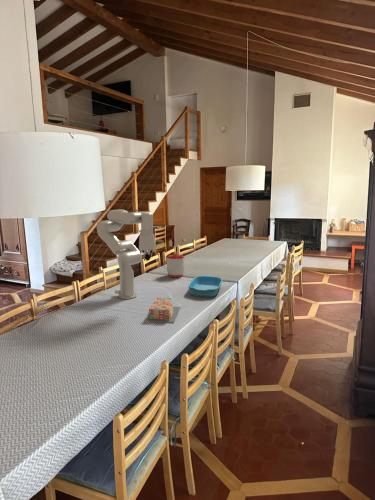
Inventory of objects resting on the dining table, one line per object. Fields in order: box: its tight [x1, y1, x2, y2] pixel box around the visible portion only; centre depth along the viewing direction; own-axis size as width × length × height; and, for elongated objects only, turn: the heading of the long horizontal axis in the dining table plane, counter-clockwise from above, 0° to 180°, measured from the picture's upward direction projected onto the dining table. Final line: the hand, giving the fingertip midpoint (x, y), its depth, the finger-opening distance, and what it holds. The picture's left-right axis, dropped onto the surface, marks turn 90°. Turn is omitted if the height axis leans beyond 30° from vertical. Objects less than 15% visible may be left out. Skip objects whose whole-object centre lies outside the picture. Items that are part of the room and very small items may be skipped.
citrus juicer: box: [164, 252, 186, 278], centre depth 306 cm, size 16×17×20 cm
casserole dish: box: [187, 275, 223, 298], centre depth 266 cm, size 37×22×7 cm, turn 167°
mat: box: [149, 306, 181, 324], centre depth 219 cm, size 14×26×1 cm, turn 173°
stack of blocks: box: [148, 297, 174, 320], centre depth 219 cm, size 21×6×12 cm
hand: (147, 260), depth 234 cm, fingers closed
